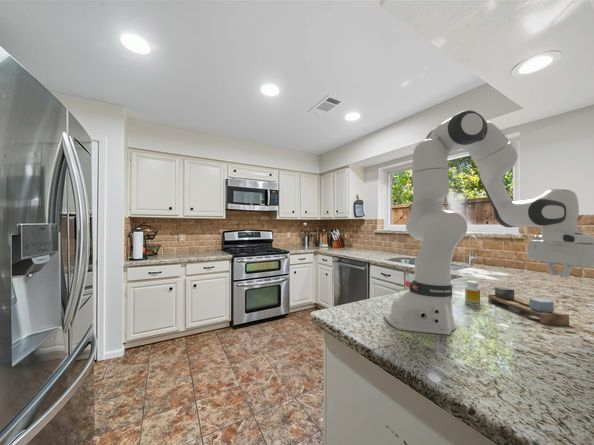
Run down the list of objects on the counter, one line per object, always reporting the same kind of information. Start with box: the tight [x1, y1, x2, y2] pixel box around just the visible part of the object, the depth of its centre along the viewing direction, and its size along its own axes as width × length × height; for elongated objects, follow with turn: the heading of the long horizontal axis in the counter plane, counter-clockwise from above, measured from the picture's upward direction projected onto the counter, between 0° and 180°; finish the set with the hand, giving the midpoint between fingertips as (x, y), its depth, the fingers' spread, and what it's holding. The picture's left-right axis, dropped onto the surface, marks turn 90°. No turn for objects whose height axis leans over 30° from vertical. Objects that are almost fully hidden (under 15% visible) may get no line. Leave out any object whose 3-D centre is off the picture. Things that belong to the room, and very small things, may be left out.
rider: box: [528, 298, 555, 313], centre depth 90 cm, size 5×4×4 cm
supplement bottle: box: [464, 280, 481, 307], centre depth 106 cm, size 5×5×10 cm
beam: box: [487, 286, 570, 326], centre depth 97 cm, size 9×24×7 cm, turn 0°
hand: (558, 276), depth 84 cm, fingers open, 2 cm apart
